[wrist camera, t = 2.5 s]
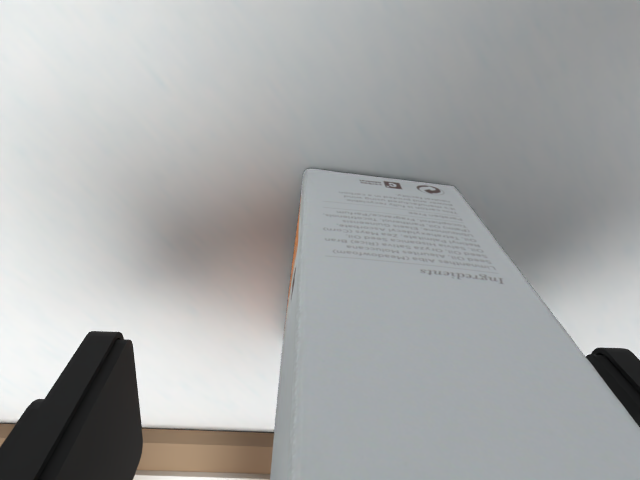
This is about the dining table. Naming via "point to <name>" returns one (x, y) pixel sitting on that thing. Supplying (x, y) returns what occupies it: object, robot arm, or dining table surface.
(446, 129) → the dining table surface
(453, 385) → the skincare box
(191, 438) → the clipboard
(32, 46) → the dining table surface
